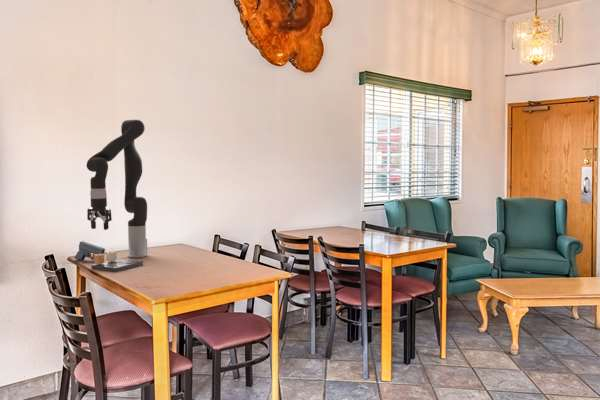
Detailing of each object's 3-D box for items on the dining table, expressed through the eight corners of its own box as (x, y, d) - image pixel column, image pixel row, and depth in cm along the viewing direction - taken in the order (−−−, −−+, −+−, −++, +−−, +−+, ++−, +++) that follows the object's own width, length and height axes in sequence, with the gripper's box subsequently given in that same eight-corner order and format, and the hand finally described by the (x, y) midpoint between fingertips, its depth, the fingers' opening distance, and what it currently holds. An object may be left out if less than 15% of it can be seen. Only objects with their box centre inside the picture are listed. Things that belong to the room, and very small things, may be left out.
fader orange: (99, 262, 239) (99, 253, 238) (104, 263, 237) (104, 253, 237) (93, 263, 235) (93, 254, 235) (98, 264, 234) (98, 255, 234)
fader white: (112, 259, 246) (112, 250, 245) (116, 260, 245) (116, 251, 244) (106, 260, 243) (106, 251, 242) (111, 261, 241) (111, 252, 241)
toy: (99, 267, 254) (103, 249, 253) (73, 258, 257) (77, 240, 256) (102, 266, 257) (106, 248, 256) (77, 257, 259) (81, 239, 258)
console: (119, 262, 252) (119, 258, 251) (143, 265, 245) (143, 261, 245) (91, 268, 235) (91, 264, 235) (115, 272, 228) (115, 267, 228)
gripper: (114, 197, 244) (115, 229, 246) (94, 196, 250) (95, 227, 252) (103, 198, 238) (104, 231, 239) (82, 197, 244) (83, 229, 245)
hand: (99, 229), depth 245 cm, fingers open, 8 cm apart
